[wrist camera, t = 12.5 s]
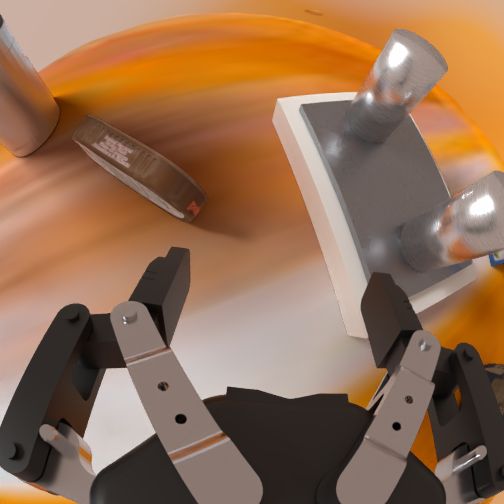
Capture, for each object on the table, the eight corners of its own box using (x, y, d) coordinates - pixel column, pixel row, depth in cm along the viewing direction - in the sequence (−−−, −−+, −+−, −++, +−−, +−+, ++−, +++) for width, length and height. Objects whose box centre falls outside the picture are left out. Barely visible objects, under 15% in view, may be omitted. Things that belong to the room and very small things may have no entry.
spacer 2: (392, 225, 23) (477, 174, 12) (429, 213, 24) (509, 167, 13) (411, 279, 22) (506, 255, 12) (446, 262, 23) (533, 234, 12)
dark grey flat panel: (298, 110, 26) (300, 104, 25) (396, 103, 28) (399, 99, 27) (375, 310, 23) (380, 310, 22) (466, 265, 24) (472, 263, 23)
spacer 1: (338, 104, 25) (380, 25, 14) (376, 102, 26) (423, 34, 15) (359, 145, 24) (418, 69, 14) (397, 140, 25) (458, 76, 14)
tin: (212, 211, 27) (207, 171, 19) (193, 237, 27) (179, 207, 19) (106, 144, 28) (78, 99, 20) (89, 165, 27) (55, 125, 19)
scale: (272, 120, 30) (277, 98, 26) (386, 109, 32) (399, 92, 28) (347, 335, 26) (366, 338, 22) (457, 280, 28) (479, 276, 24)
